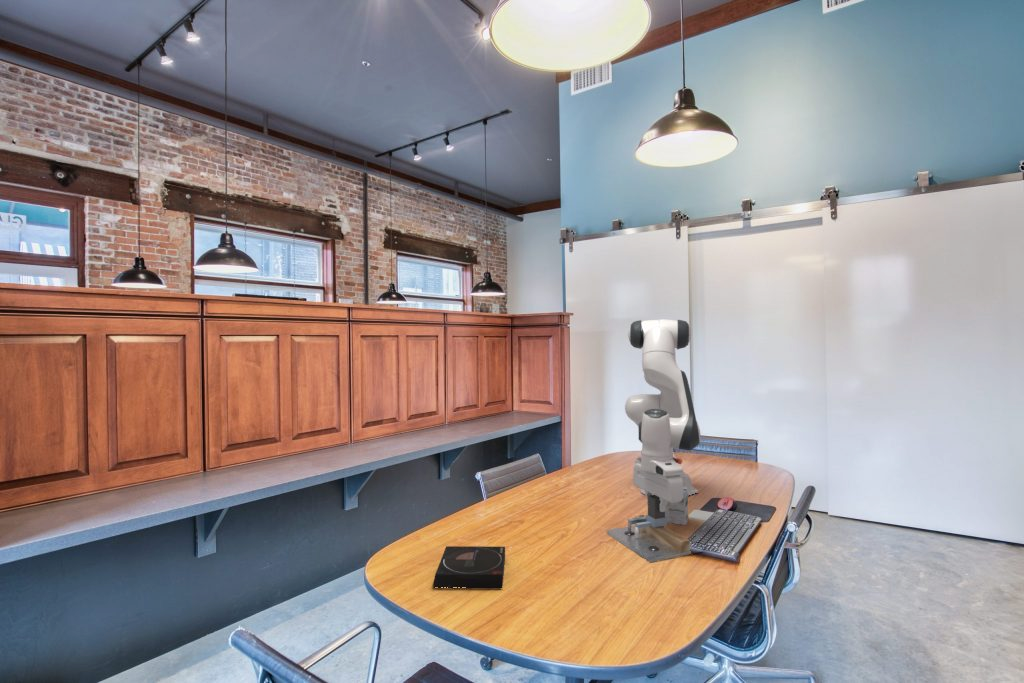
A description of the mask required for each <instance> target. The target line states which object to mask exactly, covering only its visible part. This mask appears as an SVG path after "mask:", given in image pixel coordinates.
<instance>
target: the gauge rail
mask: <svg viewBox="0 0 1024 683" xmlns="http://www.w3.org/2000/svg"><path fill="white" fill-rule="evenodd" d="M641 522H646V515H644V514H641V515H635V516H634V517H632V518H628V519H627V527H628V533H629V534H631V526H633V525H634V526H636V523H641ZM640 529H642V530H644V531H645V532H647V533H649V534H650V535H652V536H654V537H655V538H657V539H659V540H660V541H662V542H664V543H665V544H667V545H669V546H671V547H672V548H674V549H676V550H677V551H679V552H681V553H683V552H688V551H690V542H691V541H690V540H689V539H688V538H686V537H684V536H682V535H681V534H679V533H677V532H675V531H673V530H672V529H669V528H668V527H666V526H661V527H655V528H654V527H652V526H649V527H643V528H640Z"/></svg>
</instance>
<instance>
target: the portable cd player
mask: <svg viewBox="0 0 1024 683" xmlns="http://www.w3.org/2000/svg"><path fill="white" fill-rule="evenodd" d="M504 565H505V566H506V546H477V545H476V546H470V545H469V546H466V545H465V546H462V545H459V546H455V545H453V546H451V545H450V546H445V548H444V552H443V554H442V555H441V559H440V561H439V564H438V566H437V569H436V572H435V575H434V578H433V583H432V587H433V589H434V588H435V587H438V588H441V587H443V588H444V587H446V588H447V587H448V588H453V587H457V588H458V587H460V588H462V587H466V588H502V589H503V587H502V586H503V585H504V577H503V576H504V575H505V567H504Z"/></svg>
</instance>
